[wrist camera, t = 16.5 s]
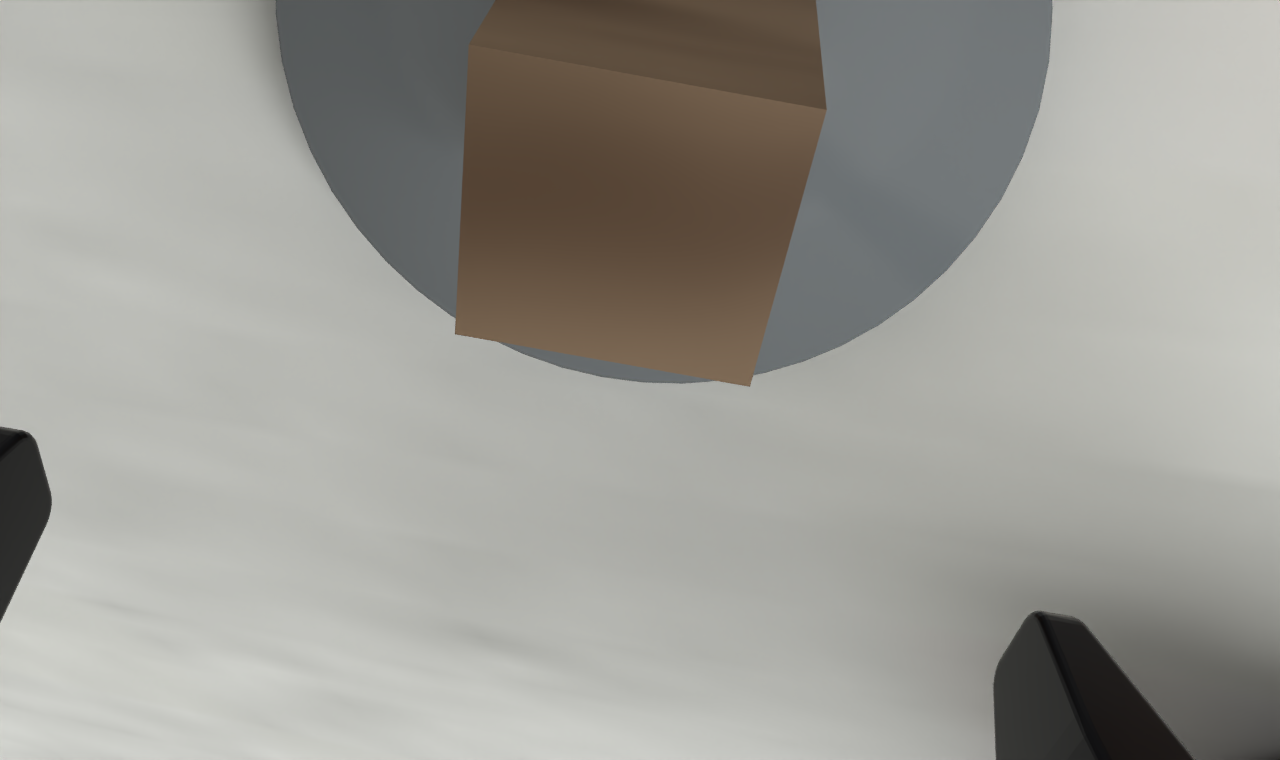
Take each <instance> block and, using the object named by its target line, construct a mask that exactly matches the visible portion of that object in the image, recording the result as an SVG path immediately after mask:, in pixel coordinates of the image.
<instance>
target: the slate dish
mask: <svg viewBox="0 0 1280 760" xmlns="http://www.w3.org/2000/svg"><path fill="white" fill-rule="evenodd" d="M494 2H495V0H276V17H277V25H278V33H279V41H280V49H281V57H282V63H283V67H284V71H285V75H286V79H287V83H288V87H289V91H290V95H291V99H292V103H293V107H294V110H295V112H296V115H297V117H298V120H299V122H300V125H301V128H302V130H303V133H304V135H305V138H306V140H307V143H308V145H309V148H310V151H311V153H312V154H313V156H314V158H315V160H316V162H317V164H318V166H319V168H320V170H321V171H322V173H323V175H324V177H325V179H326V181H327V183H328V185H329V186H330V188H331V190H332V192H333V193H334V195H335V196H336V198H337V199H338V201H339V202H340V204H341V205H342V206H343V208H344V209H345V211H346V212H347V214H348V215H349V217H350V218H351V220H352V221H353V222H354V224H355V225H356V227H357V228H358V229H359V230H360V232H361V233H362V234H363V235H364V236H365V237H366V239H367V240H368V241H369V242H370V243H371V244H372V245H373V247H374V248H375V249H376V250H377V251H378V252H379V254H380V255H381V256H382V257H383V258H384V259H385V261H387V262H388V263H389V264H390V265H391V266H392V267H393V268H394V269H395V270H396V271H397V272H398V273H399V274H400V275H402V276H403V277H404V278H405V279H406V280H407V281H408V282H409V283H410V284H411V285H412V286H413V287H414V288H416V289H417V290H418V291H419V292H421V293H422V294H423V295H425V296H426V297H427V298H428V299H430V300H431V301H432V302H434V303H435V304H436V305H438V306H439V307H440V308H442V309H443V310H444V311H446V312H447V313H448V314H450V315H451V316H453V317H455V318H456V303H457V281H458V260H459V239H460V218H461V197H462V176H463V154H464V133H465V112H466V91H467V70H468V49H469V43H470V42H471V40H472V38H473V37H474V35H475V33H476V32H477V30H478V28H479V27H480V25H481V23H482V22H483V20H484V18H485V17H486V15H487V13H488V12H489V10H490V8H491V7H492V5H493V3H494ZM816 6H817V16H818V26H819V36H820V47H821V57H822V67H823V77H824V87H825V97H826V107H827V111H826V115H825V118H824V122H823V125H822V129H821V133H820V136H819V140H818V143H817V147H816V151H815V154H814V158H813V161H812V165H811V168H810V172H809V176H808V179H807V183H806V186H805V190H804V194H803V197H802V201H801V204H800V208H799V212H798V215H797V219H796V222H795V226H794V230H793V233H792V237H791V240H790V244H789V248H788V251H787V255H786V258H785V262H784V265H783V269H782V273H781V276H780V280H779V283H778V287H777V291H776V294H775V298H774V301H773V305H772V309H771V312H770V316H769V319H768V323H767V327H766V330H765V334H764V337H763V341H762V344H761V348H760V352H759V355H758V359H757V362H756V366H755V370H754V373H753V375H756V374H761V373H765V372H769V371H772V370H776V369H779V368H783V367H786V366H789V365H793V364H796V363H800V362H803V361H805V360H808V359H810V358H813V357H815V356H817V355H820V354H822V353H825V352H827V351H829V350H832V349H834V348H837V347H839V346H841V345H843V344H845V343H847V342H849V341H851V340H852V339H854V338H856V337H858V336H860V335H861V334H863V333H865V332H867V331H869V330H870V329H872V328H874V327H876V326H878V325H879V324H881V323H882V322H884V321H885V320H886V319H888V318H889V317H891V316H892V315H893V314H895V313H896V312H898V311H899V310H900V309H902V308H903V307H905V306H906V305H907V304H909V303H910V302H912V301H913V300H914V299H915V298H916V297H918V296H919V295H920V294H921V293H922V292H923V291H924V290H925V289H926V288H928V287H929V286H930V285H931V284H932V283H933V282H934V281H935V280H936V279H938V278H939V277H940V276H941V275H942V274H943V273H944V272H945V271H946V270H947V269H948V268H949V267H950V266H951V265H952V263H953V262H954V261H955V260H956V259H957V258H958V257H959V255H960V254H961V253H962V252H963V251H964V250H965V249H966V247H967V246H968V245H969V244H970V243H971V242H972V240H973V239H974V238H975V237H976V236H977V234H978V233H979V231H980V230H981V228H982V227H983V225H984V224H985V222H986V221H987V219H988V218H989V216H990V215H991V213H992V212H993V210H994V209H995V207H996V206H997V204H998V203H999V202H1000V200H1001V198H1002V196H1003V195H1004V193H1005V191H1006V189H1007V187H1008V185H1009V183H1010V181H1011V179H1012V177H1013V175H1014V173H1015V171H1016V169H1017V167H1018V165H1019V163H1020V161H1021V159H1022V157H1023V154H1024V151H1025V148H1026V146H1027V143H1028V140H1029V137H1030V134H1031V131H1032V128H1033V126H1034V123H1035V120H1036V117H1037V114H1038V111H1039V107H1040V102H1041V97H1042V93H1043V88H1044V83H1045V78H1046V73H1047V68H1048V63H1049V54H1050V38H1051V23H1052V0H816ZM499 343H501V344H503V345H505V346H508V347H510V348H512V349H514V350H516V351H518V352H520V353H523V354H525V355H528V356H531V357H534V358H537V359H539V360H542V361H545V362H548V363H551V364H554V365H557V366H560V367H562V368H567V369H571V370H575V371H579V372H583V373H588V374H592V375H596V376H600V377H607V378H614V379H622V380H629V381H637V382H652V383H695V382H708V381H716V380H710V379H704V378H699V377H693V376H688V375H682V374H676V373H671V372H665V371H660V370H654V369H648V368H643V367H637V366H631V365H626V364H620V363H615V362H609V361H603V360H598V359H592V358H587V357H581V356H575V355H570V354H564V353H559V352H553V351H547V350H542V349H536V348H531V347H525V346H519V345H514V344H508V343H502V342H499Z"/></svg>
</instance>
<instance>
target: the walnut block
mask: <svg viewBox="0 0 1280 760" xmlns="http://www.w3.org/2000/svg"><path fill="white" fill-rule="evenodd" d="M826 111H827V107H826V97H825V87H824V77H823V67H822V57H821V47H820V36H819V26H818V16H817V6H816V0H495V2H494V3H493V5H492V7H491V8H490V10H489V12H488V13H487V15H486V17H485V18H484V20H483V22H482V23H481V25H480V27H479V28H478V30H477V32H476V33H475V35H474V37H473V38H472V40H471V42H470V43H469V49H468V70H467V91H466V112H465V133H464V154H463V176H462V197H461V218H460V239H459V260H458V281H457V303H456V324H455V334H458V335H463V336H469V337H474V338H480V339H486V340H491V341H497V342H502V343H508V344H514V345H519V346H525V347H531V348H536V349H542V350H547V351H553V352H559V353H564V354H570V355H575V356H581V357H587V358H592V359H598V360H603V361H609V362H615V363H620V364H626V365H631V366H637V367H643V368H648V369H654V370H660V371H665V372H671V373H676V374H682V375H688V376H693V377H699V378H704V379H710V380H716V381H721V382H727V383H732V384H738V385H744V386H749V387H750V384H751V380H752V377H753V373H754V370H755V366H756V362H757V359H758V355H759V352H760V348H761V344H762V341H763V337H764V334H765V330H766V327H767V323H768V319H769V316H770V312H771V309H772V305H773V301H774V298H775V294H776V291H777V287H778V283H779V280H780V276H781V273H782V269H783V265H784V262H785V258H786V255H787V251H788V248H789V244H790V240H791V237H792V233H793V230H794V226H795V222H796V219H797V215H798V212H799V208H800V204H801V201H802V197H803V194H804V190H805V186H806V183H807V179H808V176H809V172H810V168H811V165H812V161H813V158H814V154H815V151H816V147H817V143H818V140H819V136H820V133H821V129H822V125H823V122H824V118H825V115H826Z"/></svg>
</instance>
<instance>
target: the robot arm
mask: <svg viewBox="0 0 1280 760" xmlns="http://www.w3.org/2000/svg"><path fill="white" fill-rule="evenodd" d="M51 506H52V497H51V491H50V488H49V484H48V481H47V477H46V474H45V470H44V467H43V463H42V459H41V456H40V452H39V449H38V445H37V443H36V440H35V439H34V438H33V437H32V435H31V434H30V433H28V432H25V431H23V430H17V429H12V428H6V427H0V622H1V620H2V618H3V616H4V614H5V612H6V609H7V607H8V605H9V603H10V601H11V599H12V597H13V595H14V592H15V590H16V588H17V586H18V584H19V582H20V580H21V578H22V575H23V573H24V571H25V569H26V567H27V565H28V563H29V561H30V558H31V556H32V554H33V552H34V550H35V548H36V546H37V544H38V541H39V539H40V537H41V535H42V533H43V531H44V529H45V527H46V524H47V522H48V519H49V516H50V512H51ZM994 720H995V749H996V760H1195V758H1194V757H1193V756H1192V755H1191V754H1190V752H1189V751H1188V750H1187V749H1186V747H1185V746H1184V745H1183V744H1182V743H1181V741H1180V740H1179V739H1178V738H1177V736H1176V735H1175V734H1174V733H1173V731H1172V730H1171V729H1170V728H1169V727H1168V725H1167V724H1166V723H1165V722H1164V720H1163V719H1162V718H1161V717H1160V716H1159V714H1158V713H1157V712H1156V711H1155V709H1154V708H1153V707H1152V706H1151V704H1150V703H1149V702H1148V701H1147V700H1146V698H1145V697H1144V696H1143V695H1142V693H1141V692H1140V691H1139V690H1138V689H1137V687H1136V686H1135V685H1134V684H1133V682H1132V681H1131V680H1130V679H1129V677H1128V676H1127V675H1126V674H1125V673H1124V671H1123V670H1122V669H1121V668H1120V666H1119V665H1118V664H1117V663H1116V662H1115V660H1114V659H1113V658H1112V657H1111V655H1110V654H1109V653H1108V652H1107V650H1106V649H1105V648H1104V647H1103V646H1102V644H1101V643H1100V642H1099V641H1098V639H1097V638H1096V637H1095V636H1094V635H1093V633H1092V632H1091V631H1090V630H1089V628H1088V627H1087V626H1086V625H1085V624H1084V623H1083V622H1081V621H1080V620H1079V619H1077V618H1075V617H1071V616H1066V615H1061V614H1055V613H1049V612H1044V611H1035V612H1033V613H1031V614H1030V615H1028V617H1027V618H1026V619H1025V620H1024V622H1023V624H1022V625H1021V627H1020V629H1019V630H1018V632H1017V633H1016V635H1015V637H1014V638H1013V640H1012V641H1011V643H1010V645H1009V646H1008V648H1007V650H1006V651H1005V653H1004V654H1003V656H1002V658H1001V659H1000V661H999V663H998V665H997V668H996V672H995V676H994Z"/></svg>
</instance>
